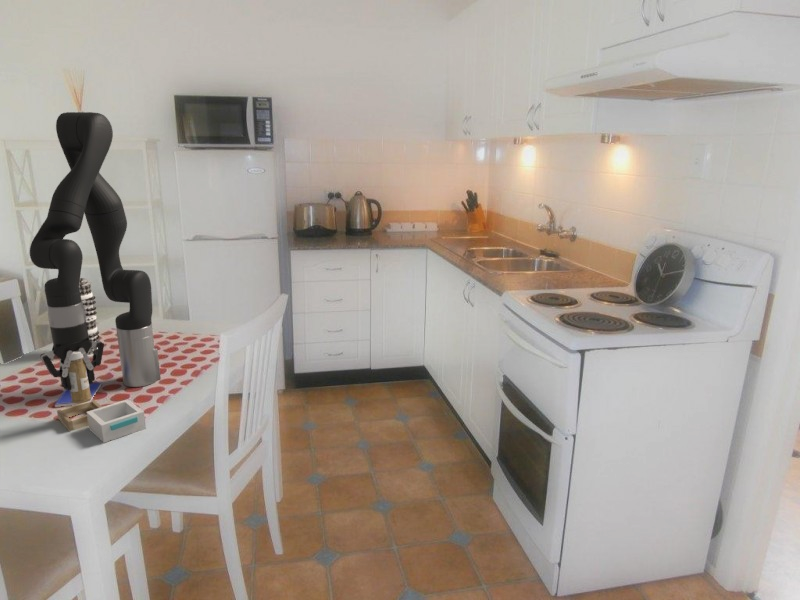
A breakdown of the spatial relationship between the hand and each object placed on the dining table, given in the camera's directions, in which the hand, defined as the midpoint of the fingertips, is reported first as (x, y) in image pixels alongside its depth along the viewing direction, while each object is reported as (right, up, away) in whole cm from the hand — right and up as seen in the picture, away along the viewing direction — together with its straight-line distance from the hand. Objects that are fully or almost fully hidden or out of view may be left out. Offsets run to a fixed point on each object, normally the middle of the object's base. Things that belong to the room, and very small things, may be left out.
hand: (79, 386), depth 137 cm
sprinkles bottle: (0, -4, +1) cm, 4 cm away
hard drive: (-9, -6, +15) cm, 18 cm away
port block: (+11, -10, -2) cm, 15 cm away
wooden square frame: (0, -9, +2) cm, 9 cm away
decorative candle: (-24, +4, +46) cm, 52 cm away
